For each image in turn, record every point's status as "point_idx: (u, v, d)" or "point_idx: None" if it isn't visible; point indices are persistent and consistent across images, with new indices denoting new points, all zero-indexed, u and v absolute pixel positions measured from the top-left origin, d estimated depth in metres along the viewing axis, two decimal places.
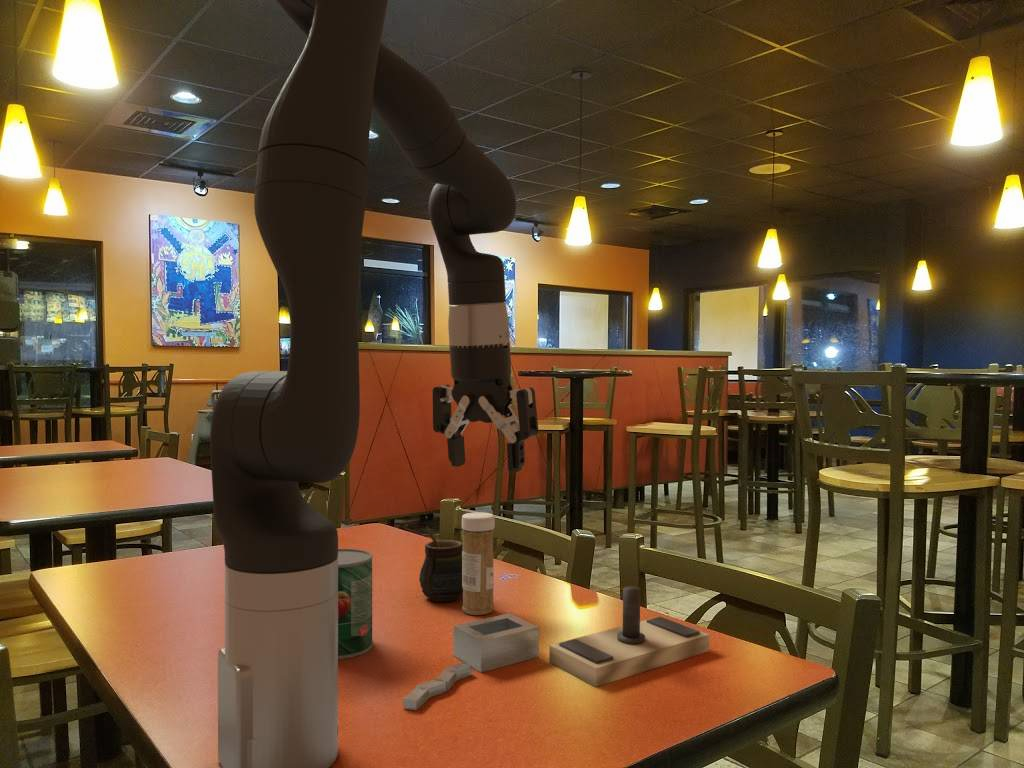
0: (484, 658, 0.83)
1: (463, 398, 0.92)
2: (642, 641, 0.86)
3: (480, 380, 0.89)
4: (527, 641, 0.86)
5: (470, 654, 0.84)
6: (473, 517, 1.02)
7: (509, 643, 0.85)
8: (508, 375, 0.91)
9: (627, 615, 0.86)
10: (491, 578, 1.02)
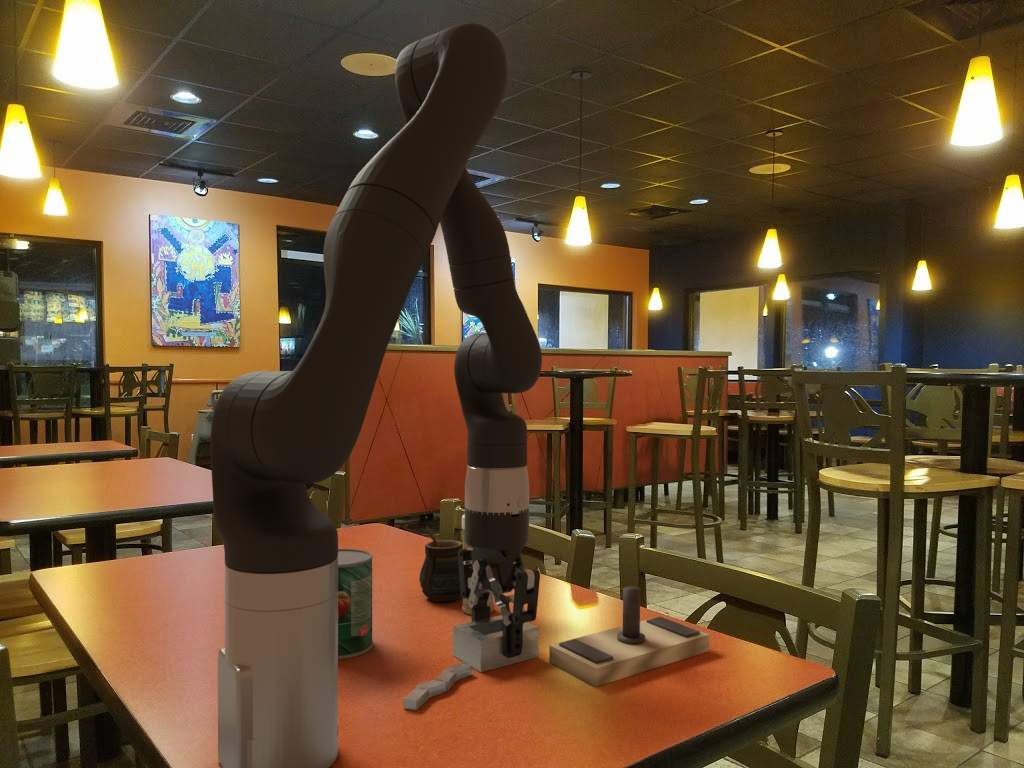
0: (484, 658, 0.83)
1: (475, 563, 0.87)
2: (642, 641, 0.86)
3: (483, 549, 0.84)
4: (527, 641, 0.86)
5: (469, 654, 0.84)
6: None
7: None
8: (517, 546, 0.84)
9: (627, 615, 0.86)
10: None
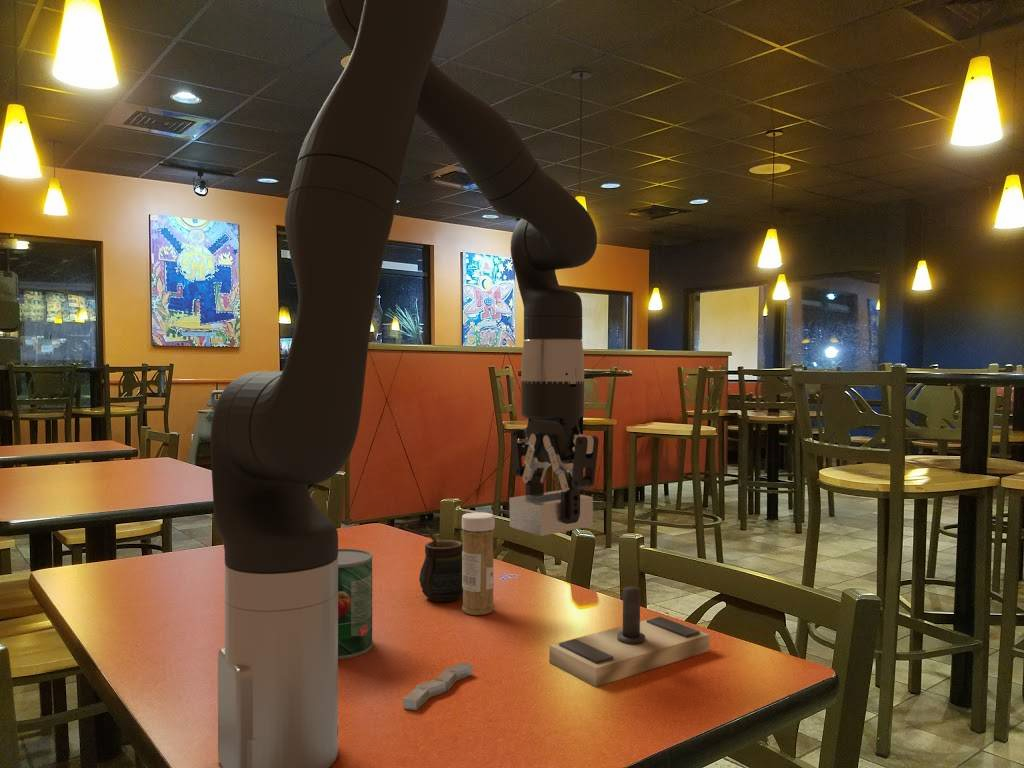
0: (543, 522, 0.85)
1: (531, 436, 0.90)
2: (642, 641, 0.86)
3: (542, 418, 0.86)
4: (582, 510, 0.89)
5: (528, 521, 0.87)
6: (473, 517, 1.02)
7: None
8: (575, 416, 0.87)
9: (627, 615, 0.86)
10: (491, 578, 1.02)
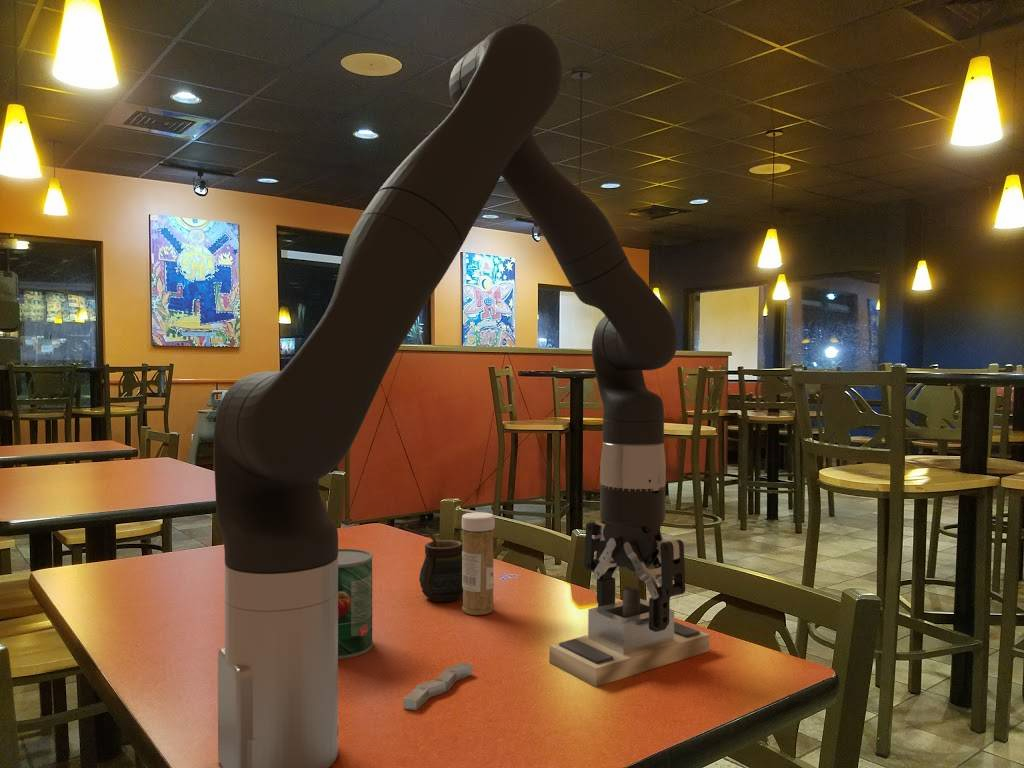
0: (626, 641, 0.83)
1: (610, 540, 0.87)
2: None
3: (624, 525, 0.84)
4: None
5: (609, 637, 0.84)
6: (473, 517, 1.02)
7: (648, 626, 0.85)
8: (657, 523, 0.84)
9: (627, 615, 0.86)
10: (491, 578, 1.02)
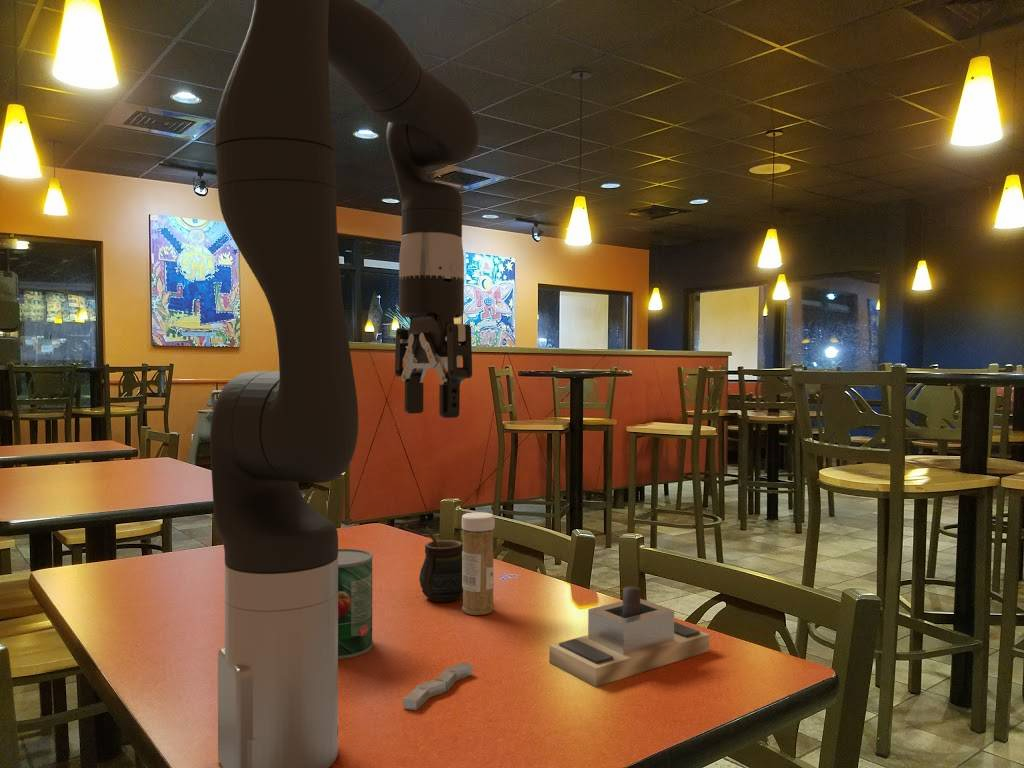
0: (626, 641, 0.83)
1: (410, 336, 0.87)
2: None
3: (415, 313, 0.84)
4: (664, 624, 0.86)
5: (609, 637, 0.84)
6: (473, 517, 1.02)
7: (648, 626, 0.85)
8: (450, 312, 0.84)
9: (627, 615, 0.86)
10: (491, 578, 1.02)
